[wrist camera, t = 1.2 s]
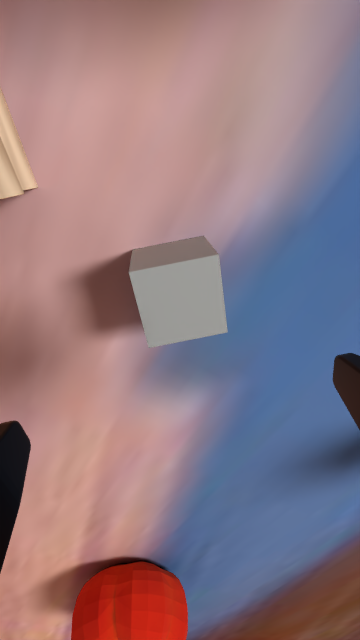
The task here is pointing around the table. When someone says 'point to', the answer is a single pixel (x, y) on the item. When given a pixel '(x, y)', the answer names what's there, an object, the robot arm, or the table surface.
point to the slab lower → (15, 147)
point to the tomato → (131, 605)
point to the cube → (178, 291)
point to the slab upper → (8, 176)
